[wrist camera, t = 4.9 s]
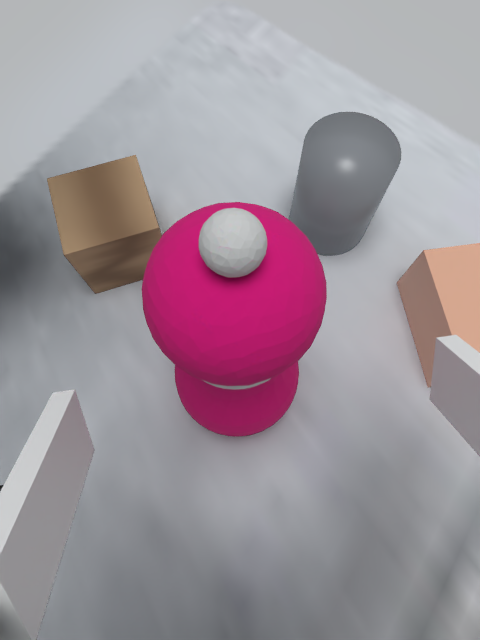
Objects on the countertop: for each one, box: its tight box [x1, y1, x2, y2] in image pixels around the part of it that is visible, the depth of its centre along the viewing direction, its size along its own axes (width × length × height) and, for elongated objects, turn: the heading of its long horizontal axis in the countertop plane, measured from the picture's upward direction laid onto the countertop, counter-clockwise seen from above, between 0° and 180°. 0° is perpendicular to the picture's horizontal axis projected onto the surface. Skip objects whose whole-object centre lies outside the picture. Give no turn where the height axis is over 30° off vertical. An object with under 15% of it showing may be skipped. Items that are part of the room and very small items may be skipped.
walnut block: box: [47, 155, 162, 294], centre depth 30 cm, size 6×6×6 cm
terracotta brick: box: [397, 243, 480, 387], centre depth 28 cm, size 4×8×5 cm, turn 8°
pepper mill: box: [142, 202, 326, 436], centre depth 19 cm, size 7×7×20 cm
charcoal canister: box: [289, 112, 401, 256], centre depth 30 cm, size 6×6×8 cm
